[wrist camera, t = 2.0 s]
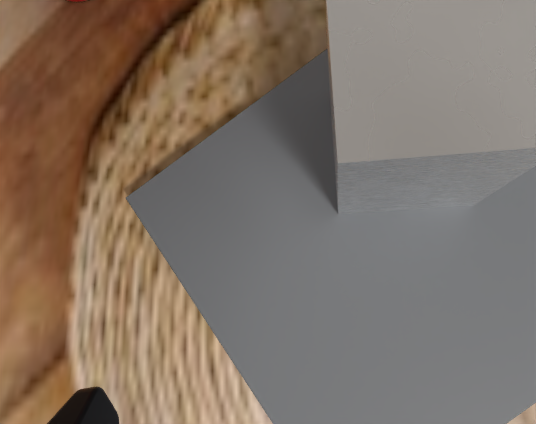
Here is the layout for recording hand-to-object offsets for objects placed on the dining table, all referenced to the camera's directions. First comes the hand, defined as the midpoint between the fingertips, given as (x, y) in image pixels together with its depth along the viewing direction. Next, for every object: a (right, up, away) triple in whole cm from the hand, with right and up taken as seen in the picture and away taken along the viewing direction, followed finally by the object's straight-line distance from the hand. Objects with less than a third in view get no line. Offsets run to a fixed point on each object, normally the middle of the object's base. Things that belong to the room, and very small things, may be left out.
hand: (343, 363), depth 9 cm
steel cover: (+5, +6, +14) cm, 16 cm away
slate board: (+4, +2, +14) cm, 15 cm away
